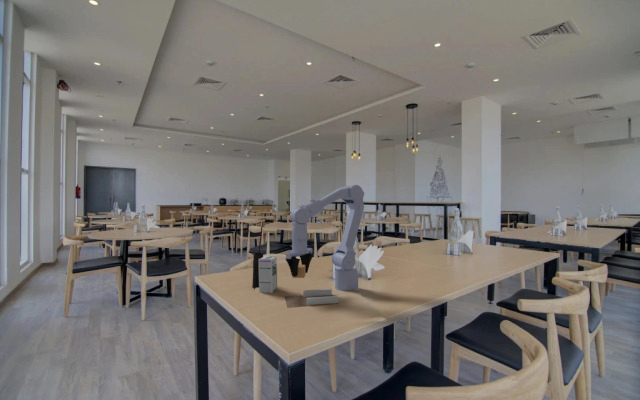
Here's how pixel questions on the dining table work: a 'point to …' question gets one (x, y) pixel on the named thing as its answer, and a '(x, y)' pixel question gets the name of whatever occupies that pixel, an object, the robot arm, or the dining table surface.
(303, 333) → the dining table surface
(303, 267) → the block
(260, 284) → the syrup box
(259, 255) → the butter churn
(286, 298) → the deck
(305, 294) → the trough walls
